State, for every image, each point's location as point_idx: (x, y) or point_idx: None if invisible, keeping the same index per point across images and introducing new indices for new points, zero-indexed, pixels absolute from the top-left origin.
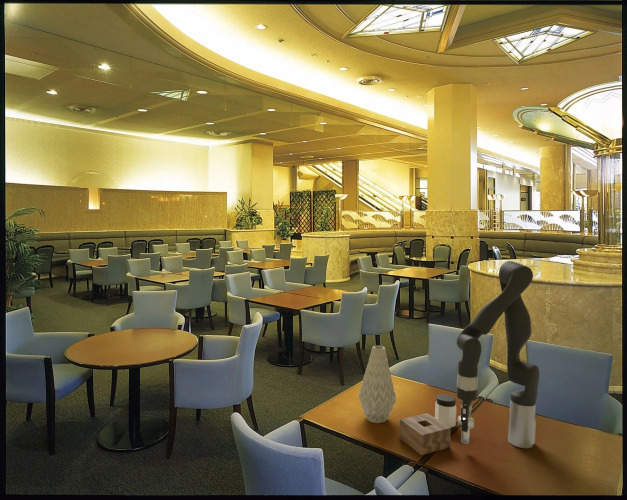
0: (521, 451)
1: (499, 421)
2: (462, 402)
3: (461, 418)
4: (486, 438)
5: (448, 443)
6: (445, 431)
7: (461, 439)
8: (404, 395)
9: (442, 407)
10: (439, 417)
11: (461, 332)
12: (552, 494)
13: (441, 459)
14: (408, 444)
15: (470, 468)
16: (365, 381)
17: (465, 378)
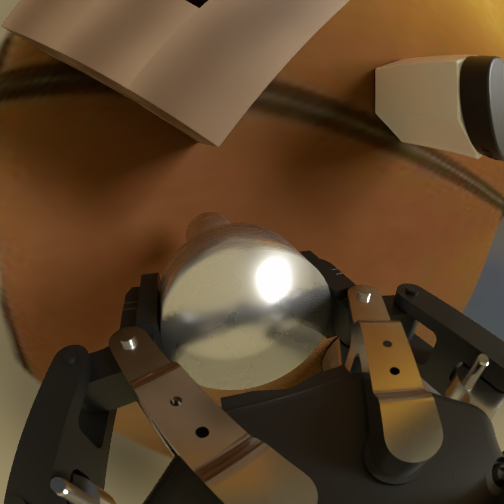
0: (303, 368)
1: (444, 269)
2: (380, 459)
3: (42, 398)
4: (352, 268)
5: (191, 136)
6: (170, 115)
7: (197, 222)
8: (472, 4)
9: (452, 81)
10: (406, 69)
11: None
12: (129, 439)
13: (58, 146)
14: None
15: (71, 278)
16: None
17: None
